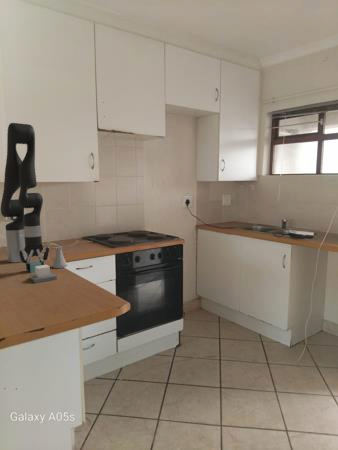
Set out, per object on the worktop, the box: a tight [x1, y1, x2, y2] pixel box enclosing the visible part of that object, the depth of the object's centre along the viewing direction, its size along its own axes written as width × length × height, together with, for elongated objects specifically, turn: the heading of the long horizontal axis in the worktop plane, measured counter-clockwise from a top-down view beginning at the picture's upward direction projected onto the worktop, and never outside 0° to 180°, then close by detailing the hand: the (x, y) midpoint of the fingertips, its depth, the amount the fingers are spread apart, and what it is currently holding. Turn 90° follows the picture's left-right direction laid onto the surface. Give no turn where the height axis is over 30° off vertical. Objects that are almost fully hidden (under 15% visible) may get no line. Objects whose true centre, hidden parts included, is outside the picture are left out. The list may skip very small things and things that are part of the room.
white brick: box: [34, 264, 51, 278], centre depth 144 cm, size 5×5×4 cm
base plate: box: [28, 271, 57, 284], centre depth 144 cm, size 9×9×2 cm
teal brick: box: [29, 260, 42, 274], centre depth 157 cm, size 5×5×4 cm
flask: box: [52, 246, 68, 269], centre depth 164 cm, size 7×7×10 cm
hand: (35, 269), depth 157 cm, fingers closed on teal brick, 5 cm apart
